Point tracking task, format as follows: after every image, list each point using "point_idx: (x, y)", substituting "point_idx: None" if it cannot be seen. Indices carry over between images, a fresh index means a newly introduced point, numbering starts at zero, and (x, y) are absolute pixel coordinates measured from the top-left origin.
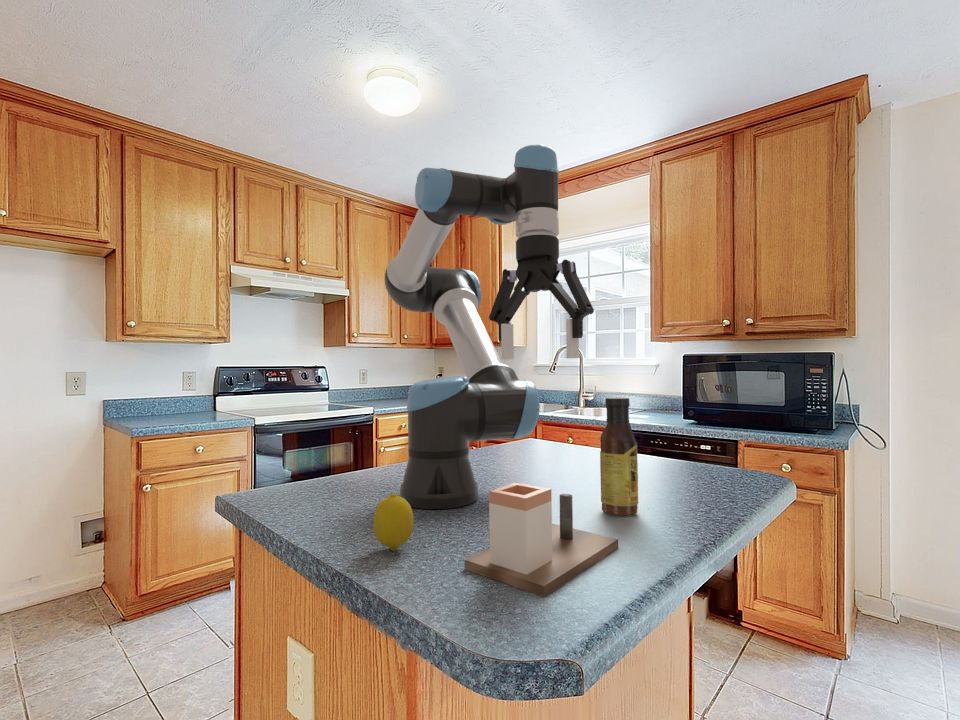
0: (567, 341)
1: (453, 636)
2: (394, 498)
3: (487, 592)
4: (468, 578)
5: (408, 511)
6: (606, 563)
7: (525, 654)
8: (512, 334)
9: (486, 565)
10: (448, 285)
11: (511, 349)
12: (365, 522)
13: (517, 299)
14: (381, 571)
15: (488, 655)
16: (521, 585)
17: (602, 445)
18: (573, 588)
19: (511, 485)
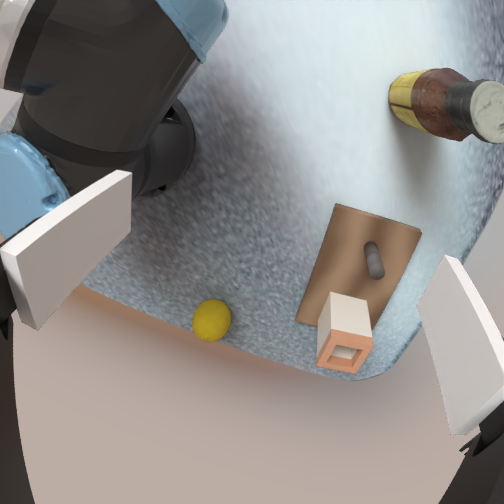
0: (434, 352)
1: (327, 374)
2: (209, 339)
3: None
4: (306, 326)
5: (224, 329)
6: (409, 268)
7: (366, 375)
8: (59, 230)
9: (317, 324)
10: None
11: (107, 204)
12: (140, 253)
13: (19, 478)
14: (238, 333)
15: (349, 380)
16: None
17: (423, 121)
18: (385, 316)
19: (331, 347)
